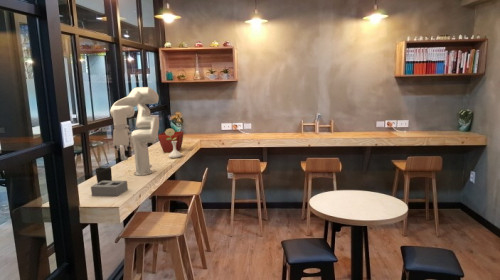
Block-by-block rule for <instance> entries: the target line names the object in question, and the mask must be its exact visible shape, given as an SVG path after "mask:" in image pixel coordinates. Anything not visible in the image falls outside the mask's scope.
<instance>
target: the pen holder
mask: <svg viewBox="0 0 500 280" xmlns="http://www.w3.org/2000/svg"><path fill="white" fill-rule="evenodd" d="M94 171H95V175H96V176H95V177H96V182H97V183H99V182H101V181H113V177H112V167H111V166H109V167H97V168H95V169H94ZM97 183H96V184H97Z"/></svg>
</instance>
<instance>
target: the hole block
mask: <svg viewBox="0 0 500 280" xmlns="http://www.w3.org/2000/svg"><path fill="white" fill-rule="evenodd" d="M128 188H129V187H128V180H112V181H101V182H99V183H95V184H93V185H92V186H90V190H91V196H93V197H118V196H121V194H123V193H125V192H127V191H128V190H129V189H128Z"/></svg>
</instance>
